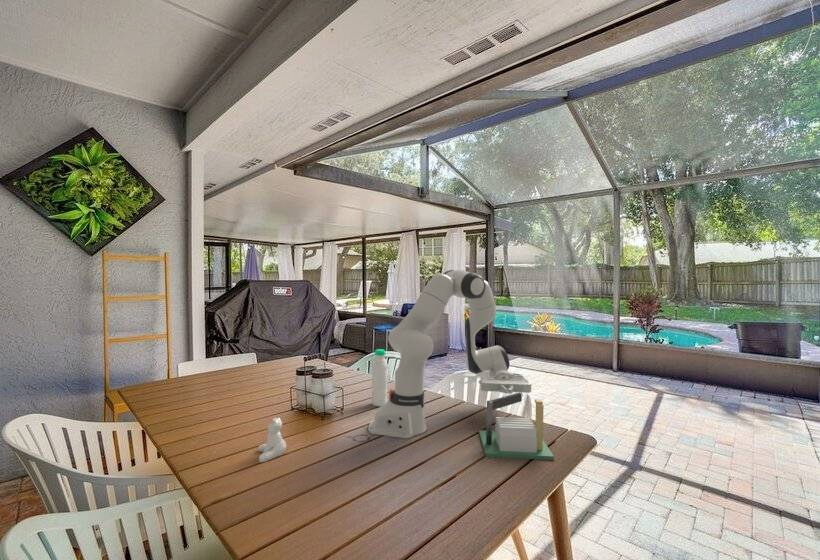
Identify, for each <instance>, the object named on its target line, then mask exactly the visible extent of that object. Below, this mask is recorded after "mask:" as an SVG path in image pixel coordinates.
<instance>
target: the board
mask: <svg viewBox="0 0 820 560" xmlns="http://www.w3.org/2000/svg"><path fill="white" fill-rule="evenodd" d="M541 399H542V398H541ZM541 399H540V398H539V399H536V398H534V402H535V425H534V423H533V421H532V420H531V418H530V417H529V418H528V417H527V418H526V417H500V416H499V417H498V416H496V417H495V427H494V429H495V430H492V444H487V443H486V429H485V430H482V429H481V430H478V434H480V435H479V438H480V442H481V444H482V449H483V452H484V456H485V457H486V458H503V459H524V458H525V460H545V461H546V460H547V461H554V460H555V456H554V454H553V452H552V451H551V450H550V448H549V447H548V444H547V442H545V441H544V410H545V409H544V402H543V401H542V400H541Z"/></svg>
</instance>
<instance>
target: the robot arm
mask: <svg viewBox="0 0 820 560" xmlns="http://www.w3.org/2000/svg"><path fill="white" fill-rule="evenodd" d="M453 296H455V297H457V298H461V299H462V298H464V299H467V300H468V302H467V303H468V306H469V315H468V317H467V318H466V319H465V323H464V331H465V332H464V333H465V334H464V336H465V337H464V338H465V365H466V368H467V370H468V371H469V372H471V373H472V374H475V375H478V374H480V373H483V372H485V371H488V377H483V378H481V379H479V380H478V384H479V385H480V390H481V391H483V392H495V393H496V392H499V393H501V394H502V393H504V394H510V395H512V394H514V393H522V394H523V393H525V394H526V393H527V394H529V393H531V392H532V383H531V382H530V381H529V379H527V378H525V376H524V375H523V374H520V373H515V372H510V371H509V369H510V359H509V356H508V353H507V351H506V350H505V348H503V347H502V346H501V345H493V346H488V347H487V348H482V349H477V350H476V335H477V334H478V332H479V331H480V330H482V329H483V328H485V327H486V326H489V324H490V323H491V322H492V321H494V319H495V318H496V315H497V305H496V301H495V297H494V294H493V291H492V288H491V286H490V284H489V282H488V281H487V280H485V279H484V278H483V276H481V275H480V274H478V273H476V272H473V271H472V272H470V271H466V270H458V269H457V270H454V269H450V270H446V271H445V272H443V273H441V272H440V273H436V274H434V275H433V276H432V277H431V278H430V280H428V281H427V284H426V285H425V287H424V288H423V289H422V292H421V293H420V295H419V296H418V298H417V300H416V301H415V303H414V305H413V306H412V308H411V310H410V311H409V313H408V314H406V316H405V317H404V318H403V319H402V320H401V321H400V322H399V323H398V324H397V325H396V326H395V327H393V328H392V329H391V330H390V332H389V333H388V339H387V340H388V343H389V345H390V346H391V348H392V350H394V351H395V352H397V353H398V354H400V358H399V363H398V367H397V368H396V370H394V388H390V389H389V391H388V392H389V395H388V396H389V398H388V399H389V400H387V403H385V404H384V405H382V406H379V408H378V409H377V410H376V413H375V414H374V418H373V419H372V420H370V422H369V424H368V428H367V429H368V430H367V431H368V433H370V434H371V435H378V436H379V435H380V436H384V437H393V438H394V437H395V438H399V439H400V438H401V439H410V438H412V437H414V436H418V435H421V434H423V433H425V432H426V431H427V428H428V427H427V424H426V417H425V409H424V407H425V391H424V375H425V369H426V368H425V367H426V365H427V361H428V359H429V357H430V356H431V355H432V354H433V352H434V348H435V346H434V341H433V339H432V338H431V337H430V336H429V335H428V334H427V333H426V332H427V331H428V330H429V329H430V328H431V327H432V326H435V325H436V324H437V323H438V322H439V320H440V317H441V316H442V314H443V312H444V311H445V310H446V309H445V308H446V306H447V305H448V303H449V301H450V299H451V297H453Z"/></svg>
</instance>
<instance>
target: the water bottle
mask: <svg viewBox="0 0 820 560" xmlns="http://www.w3.org/2000/svg"><path fill="white" fill-rule="evenodd" d="M374 355H375V359H374V361H373V362H372V365H371V368H372V371H371V372H372V374H371V375H372V377H371V386H372V389H371V404H372V405H373V406H374V407H381V406H382V405H384V404H385V403H387V402H388V368H389V367H388V366H389V365H388V362H387V360H386V358H385V356H386V350H385V348H384V349H382V348H379V349H375V351H374Z"/></svg>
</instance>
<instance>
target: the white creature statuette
mask: <svg viewBox="0 0 820 560" xmlns="http://www.w3.org/2000/svg"><path fill="white" fill-rule="evenodd" d="M282 426H283V422H282V420H281V418H280V417H273V418H272V421H271V422H270V423H269V424H268V427H267V432H268V435H267V437H266V443H263V444H260V445H259V446H258V450H257V451H258V452H260V453H261V454H260V455H258V462H259V463H265V462H267V461H272V460H273V459H275V458H277V457H281V456H282V455H283V454H284V453H285V452H286V450H287V443H286V441H285V440H284V439H283V437H282V433H281V432H280V431H281V429H282Z"/></svg>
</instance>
